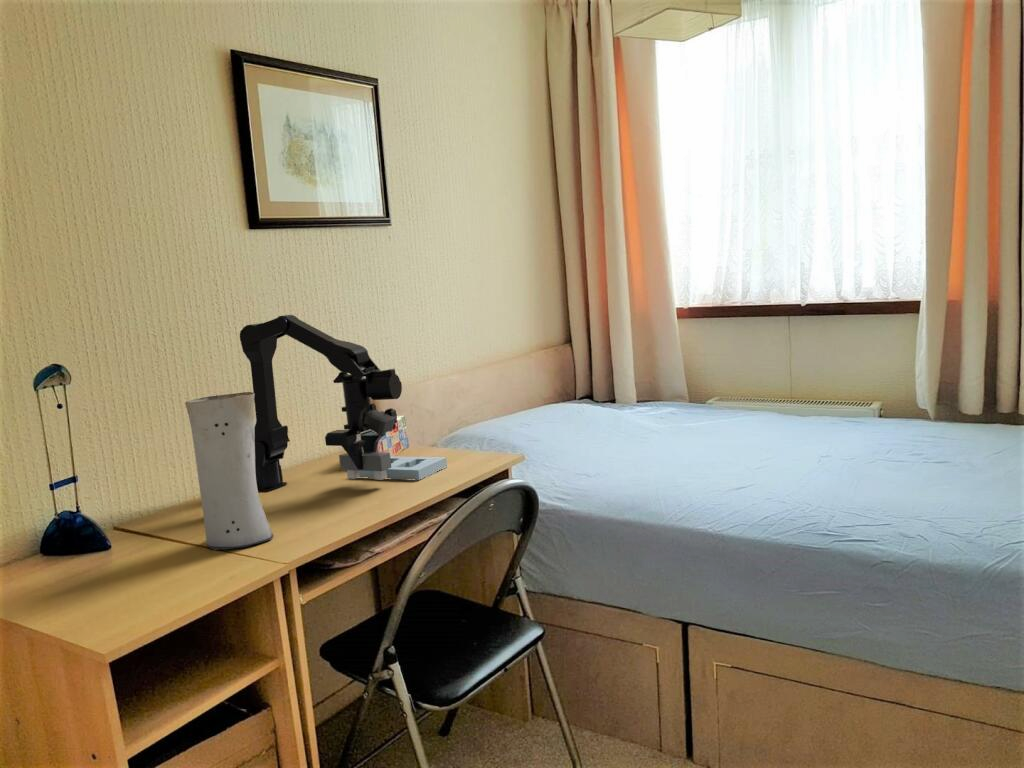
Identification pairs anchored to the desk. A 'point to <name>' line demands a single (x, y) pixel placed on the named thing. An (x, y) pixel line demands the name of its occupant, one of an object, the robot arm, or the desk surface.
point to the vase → (228, 470)
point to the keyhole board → (411, 467)
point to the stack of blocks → (394, 438)
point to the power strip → (367, 464)
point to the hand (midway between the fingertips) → (365, 467)
